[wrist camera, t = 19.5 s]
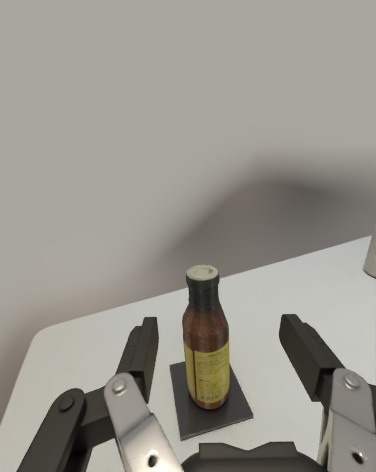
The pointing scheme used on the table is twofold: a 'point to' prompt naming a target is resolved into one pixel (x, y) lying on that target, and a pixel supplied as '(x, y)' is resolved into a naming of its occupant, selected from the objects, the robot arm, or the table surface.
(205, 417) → the slate coaster
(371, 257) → the cylinder vase
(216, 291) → the sauce bottle
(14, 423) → the table surface
